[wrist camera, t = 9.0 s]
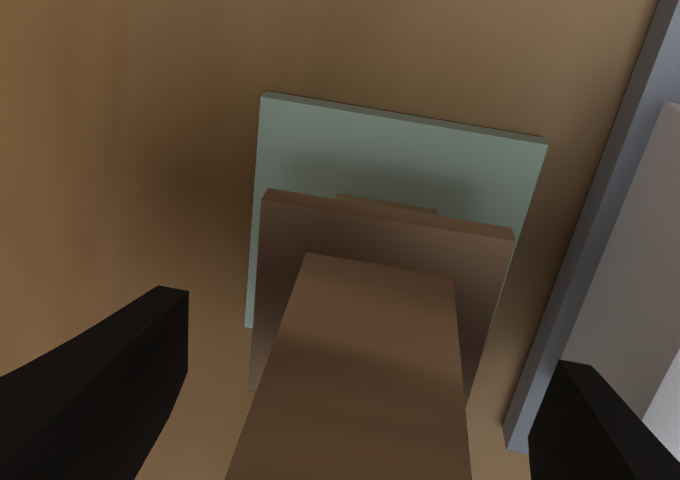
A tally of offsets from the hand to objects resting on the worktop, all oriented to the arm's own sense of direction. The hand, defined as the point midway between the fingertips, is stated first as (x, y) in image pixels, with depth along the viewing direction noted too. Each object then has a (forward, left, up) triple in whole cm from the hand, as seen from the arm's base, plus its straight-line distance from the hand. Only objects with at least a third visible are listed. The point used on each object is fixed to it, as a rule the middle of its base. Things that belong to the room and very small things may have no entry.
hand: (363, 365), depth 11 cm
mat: (0, 0, -6) cm, 6 cm away
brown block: (0, 0, -5) cm, 5 cm away
